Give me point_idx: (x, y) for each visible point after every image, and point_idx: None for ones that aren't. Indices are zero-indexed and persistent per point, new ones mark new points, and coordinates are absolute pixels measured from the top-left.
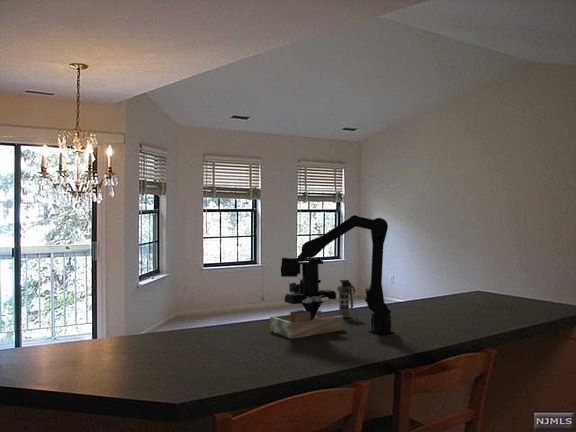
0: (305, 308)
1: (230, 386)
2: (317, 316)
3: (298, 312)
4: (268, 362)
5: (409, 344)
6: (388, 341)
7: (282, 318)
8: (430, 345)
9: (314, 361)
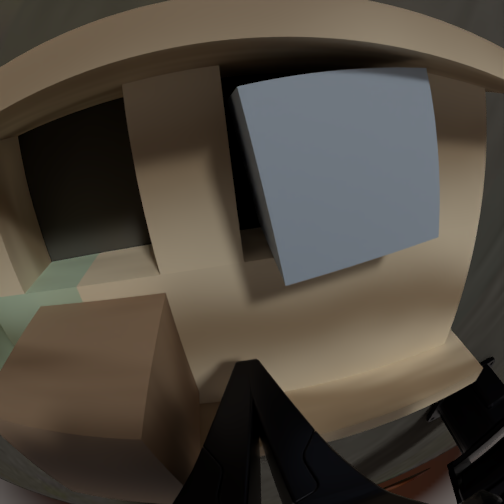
0: (186, 494)
1: (5, 476)
2: (432, 233)
3: (74, 478)
4: (27, 467)
5: (382, 470)
6: (376, 460)
7: None
8: (399, 470)
9: (115, 499)
